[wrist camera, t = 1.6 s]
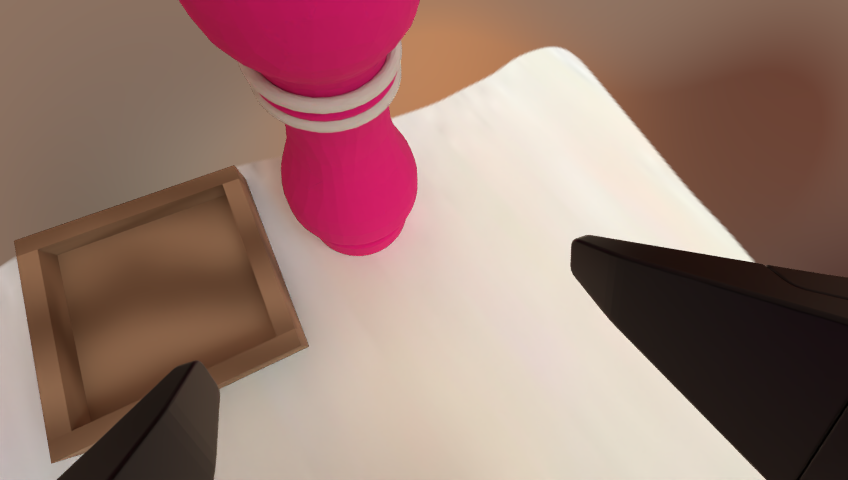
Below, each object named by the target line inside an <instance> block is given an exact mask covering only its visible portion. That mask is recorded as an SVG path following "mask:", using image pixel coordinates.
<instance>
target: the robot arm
mask: <svg viewBox="0 0 848 480" xmlns="http://www.w3.org/2000/svg"><path fill="white" fill-rule="evenodd" d="M570 266H571V271H572V273H573V275H574V276H575V278H576V279H577V280H578V281H579V283H580V284H581V285H582V286H583V288H584V289H585V290H586V291H587V293H588V294H589V295H590V296H591V298H592V299H593V300H594V301H595V303H596V304H597V305H598V306H599V308H600V309H601V310H602V311H603V313H604V314H605V315H606V316H607V317H608V318H609V320H610V321H611V322H612V323H613V324H614V325H615V326H616V327H617V328H618V329H619V330H620V331H621V332H622V333H623V334H624V335H625V336H626V337H627V338H628V339H629V340H630V341H631V342H632V343H633V344H634V346H635V347H636V348H637V349H638V350H639V351H640V352H641V353H642V354H643V355H644V356H645V357H646V358H647V359H648V360H649V361H650V362H651V363H652V364H653V365H654V366H655V367H656V368H657V369H658V370H659V371H660V372H661V373H662V374H663V375H664V376H665V377H666V378H667V379H668V380H669V381H670V382H671V383H672V384H673V385H674V386H675V387H676V388H677V389H678V390H679V391H680V392H681V393H682V394H683V395H684V397H685V398H686V399H687V400H688V401H689V402H690V403H691V404H692V405H693V406H694V407H695V408H696V409H697V410H698V411H699V412H700V413H701V414H702V415H703V416H704V417H705V418H706V419H707V420H708V421H709V422H710V423H711V424H712V425H713V426H714V427H715V428H716V429H717V430H718V431H719V432H720V433H721V434H722V435H723V436H724V437H725V438H726V439H727V440H728V441H729V442H730V443H731V444H732V445H733V446H734V447H735V449H736V450H737V451H738V452H739V453H740V454H741V455H742V456H743V457H744V458H745V459H746V460H747V461H748V462H749V463H750V464H751V465H752V466H753V467H754V468H755V469H756V470H757V471H758V472H759V473H760V474H761V475H762V476H763V477H764V478H765V479H766V480H848V277H841V276H834V275H826V274H820V273H814V272H807V271H802V270H795V269H789V268H783V267H777V266H771V265H766V266H765V265H763V264H759V263H753V262H747V261H741V260H735V259H729V258H723V257H717V256H712V255H706V254H700V253H694V252H688V251H682V250H676V249H670V248H664V247H658V246H652V245H646V244H640V243H634V242H628V241H623V240H617V239H611V238H605V237H599V236H593V235H585V236H582V237H579V238H576V239H574V240H573V242H572V244H571V264H570ZM219 403H220V392H219V388H218V385H217V384H216V382H215V381H214V379H213V378H212V376H211V375H210V373H209V372H208V370H207V369H206V367H205V366H204V364H203V363H202V362H201V361H198V360H194V361H191V362H188V363H185V364H182V365H179V366H177V367H175V368H174V369H173V370H172V371H171V372H170V373H169V374H168V375H166V376H165V377H164V378H163V379H162V380H161V381H160V382H159V383H158V384H157V385H156V386H155V387H154V388H153V389H152V390H151V391H150V392H149V393H148V394H146V395H145V396H144V397H143V398H142V399H141V400H140V401H139V402H138V403H137V404H136V405H135V406H134V407H133V408H132V409H131V410H130V411H129V412H128V413H126V414H125V415H124V416H123V417H122V418H121V419H120V420H119V421H118V422H117V423H116V424H115V425H114V426H113V427H112V428H111V429H110V430H109V431H108V432H107V433H105V434H104V435H103V436H102V437H101V438H100V439H99V440H98V441H97V442H96V443H95V444H94V445H93V446H92V447H91V448H90V449H89V450H88V451H87V452H85V453H84V454H83V455H82V456H81V457H80V458H79V459H78V460H77V461H76V462H75V463H74V464H73V465H72V466H71V467H70V468H69V469H68V470H67V471H65V472H64V473H63V474H62V475H61V476H60V477H59V478H58V479H57V480H214V473H215V466H216V455H217V438H218V421H219Z"/></svg>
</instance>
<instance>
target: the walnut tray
mask: <svg viewBox="0 0 848 480" xmlns="http://www.w3.org/2000/svg"><path fill="white" fill-rule="evenodd" d="M14 244H15V249H16V256H17V262H18V268H19V274H20V280H21V285H22V291H23V297H24V303H25V309H26V315H27V321H28V327H29V333H30V339H31V345H32V351H33V357H34V363H35V369H36V375H37V381H38V387H39V393H40V399H41V404H42V410H43V416H44V422H45V428H46V434H47V440H48V446H49V452H50V458H51V464H52V463H55V462H58V461H61V460H64V459H67V458H71V457H74V456H77V455H80V454H83V453H85V452H87V451H88V450H89V449H90V448H91V447H92V446H93V445H94V444H95V443H96V442H97V441H98V440H99V439H100V438H101V437H102V436H103V435H104V434H105V433H107V432H108V431H109V430H110V429H111V428H112V427H113V426H114V425H115V424H116V423H117V422H118V421H119V420H120V419H121V418H122V417H123V416H124V415H125V414H126V413H128V412H129V411H130V410H131V409H132V408H133V407H134V406H135V405H136V404H137V403H138V402H139V401H140V400H141V399H142V398H143V397H144V396H145V395H146V394H148V393H149V392H150V391H151V390H152V389H153V388H154V387H155V386H156V385H157V384H158V383H159V382H160V381H161V380H162V379H163V378H164V377H165V376H166V375H168V374H169V373H170V372H171V371H172V370H173V369H174V368H175V367H177V366H179V365H182V364H185V363H188V362H191V361H194V360H198V361H201V362H202V363H203V364H204V366H205V367H206V369H207V370H208V372H209V373H210V375H211V376H212V378H213V379H214V381H215V382H216V384H217V385H218V388H219V389H220V388H222V387H224V386H227V385H229V384H231V383H233V382H235V381H237V380H239V379H241V378H243V377H246V376H248V375H250V374H252V373H254V372H256V371H258V370H260V369H262V368H265V367H267V366H269V365H271V364H273V363H275V362H277V361H279V360H281V359H283V358H286V357H288V356H290V355H292V354H294V353H296V352H298V351H300V350H302V349H305V348H307V347H309V345H308V343H307V340H306V338H305V335H304V332H303V330H302V327H301V324H300V322H299V319H298V316H297V314H296V311H295V309H294V306H293V303H292V301H291V298H290V295H289V293H288V290H287V287H286V285H285V282H284V279H283V277H282V274H281V272H280V269H279V266H278V264H277V261H276V258H275V256H274V253H273V250H272V248H271V245H270V243H269V240H268V237H267V235H266V232H265V229H264V227H263V224H262V221H261V219H260V216H259V213H258V211H257V208H256V206H255V203H254V200H253V198H252V195H251V192H250V190H249V187H248V184H247V182H246V179H245V178H244V177H243V176H242V174H241V173H240V172H239V171H238V170H237V168H236V167H235V166H230V167H227V168H225V169H222V170H219V171H216V172H213V173H210V174H207V175H204V176H201V177H198V178H195V179H193V180H190V181H187V182H184V183H181V184H178V185H175V186H172V187H169V188H166V189H163V190H161V191H158V192H155V193H152V194H149V195H146V196H144V197H140V198H137V199H134V200H132V201H129V202H126V203H123V204H120V205H117V206H114V207H111V208H108V209H105V210H102V211H99V212H97V213H94V214H91V215H88V216H85V217H82V218H79V219H76V220H74V221H70V222H67V223H64V224H62V225H59V226H56V227H53V228H50V229H47V230H44V231H41V232H38V233H35V234H32V235H30V236H27V237H24V238H21V239H18V240H15V241H14Z"/></svg>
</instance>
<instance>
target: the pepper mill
mask: <svg viewBox="0 0 848 480" xmlns="http://www.w3.org/2000/svg"><path fill="white" fill-rule="evenodd" d="M179 1H180V3H181V4H182V6H183V7H184V9H185V10H186V12H187V13H188V15H189V16H190V17H191V19H192V20H193V21H194V22H195V23H196V24H197V26H198V27H199V28H200V29H201V30H202V31H203V33H204V34H205V35H206V36H207V37H208V39H209V40H210V41H211V42H212V43H213V44H215V45H216V46H217V47H218V48H219V49H221V50H222V51H224V52H225V53H227V54H228V55H230V56H231V57H232V58H234V59H235V60H237V61H238V64H239V67H240V69H241V71H242V73H243V75H244V76H245V78H246V80H247V81H248V82H249V84H250V86H251V89H252V92H253V93H254V95H255V97H256V99H257V100H258V102H259V103H260V104H261V106H262V107H263V108H264V109H265V110H266V111H267V112H268V113H269V114H271V115H272V116H273V117H275V118H276V119H278V120H280V121H281V122H283V123H285V126H286V135H287V139H286V143H285V147H284V152H283V156H282V162H281V176H282V185H283V190H284V194H285V196H286V199H287V201H288V203H289V206H290V208H291V210H292V212H293V214H294V215H295V217H296V218H297V220H298V221H299V222H300V223H301V224H302V225H303V226H304V227H305V228H306V229H307V230H308V231H310V232H311V233H313V234H314V235H316V236H317V237H319V238H320V239H321V240H322V241H323V242H324V243H325V244H326V245H327V246H329V247H330V248H332V249H333V250H335V251H337V252H340V253H343V254H347V255H353V256H363V255H369V254H373V253H376V252H379V251H381V250H382V249H384V248H386V247H387V246H388V245H390V244H391V243H392V242H393V241H394V240H395V239H396V238H397V237H398V235H399V234H400V232H401V230H402V228H403V226H404V223H405V219H406V218H407V216H408V215H409V213H410V211H411V209H412V207H413V205H414V202H415V199H416V194H417V167H416V163H415V159H414V156H413V154H412V151H411V149H410V147H409V145H408V143H407V141H406V140H405V138H404V137H403V135H402V134H401V133H400V132H399V130H398V129H397V128H396V127H395V126H394V125H393V123H392V120H391V118H390V111H389V105H390V103H391V102H392V100H393V99H394V97H395V95H396V93H397V91H398V88H399V86H400V81H401V56H402V46H401V45H402V44H401V39H402V38H403V36H404V35H405V33H406V32H407V31H408V29H409V28H410V27H411V25H412V22H413V20H414V17H415V14H416V11H417V8H418V5H419V1H420V0H179Z"/></svg>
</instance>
